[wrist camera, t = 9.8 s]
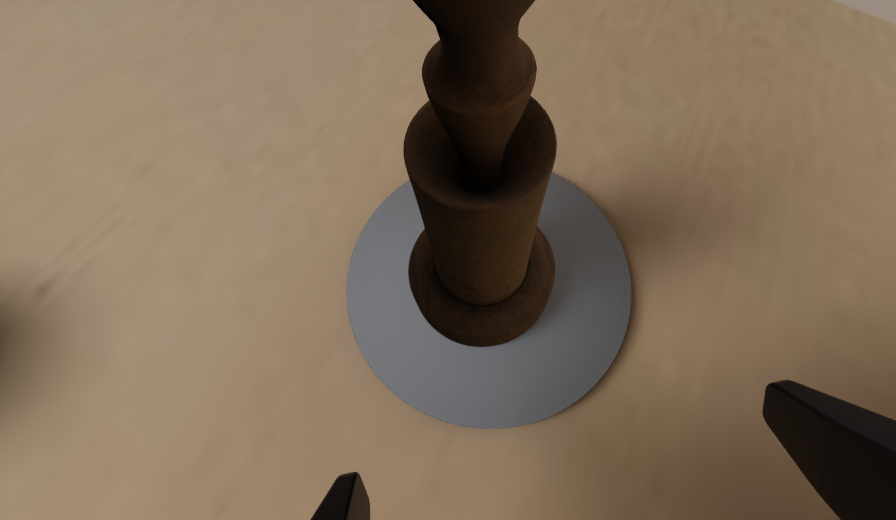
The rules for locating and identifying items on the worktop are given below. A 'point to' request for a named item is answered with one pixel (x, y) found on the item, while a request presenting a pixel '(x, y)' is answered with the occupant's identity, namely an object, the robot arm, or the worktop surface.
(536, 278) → the wooden pepper mill
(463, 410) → the mat
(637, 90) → the worktop surface
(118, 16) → the worktop surface
